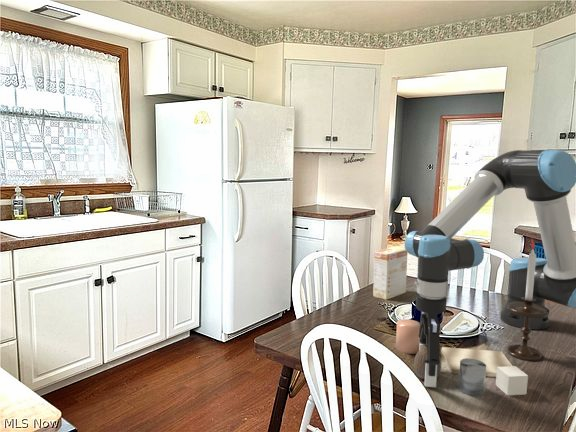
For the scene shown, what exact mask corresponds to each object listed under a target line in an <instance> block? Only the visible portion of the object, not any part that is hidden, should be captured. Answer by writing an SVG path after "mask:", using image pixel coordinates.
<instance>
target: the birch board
mask: <svg viewBox="0 0 576 432" xmlns="http://www.w3.org/2000/svg"><path fill="white" fill-rule="evenodd" d="M441 353H442V354H443V358H444V359H445V361H446V364H447V366H448V368H449V371H450V372H451V374H455V375H459V372H460V361H461V360H462V359H465V358H471V359H476V360H479V361H482V362H483V363H485V364H486V377H490V378H496V375H497V367H505V366H513V365H512V363H511V362H510V360H509V359H508V358H507V357H506V355H505V354H504V353H503V351H501V350H500V351H498V350H486V349H474V348H473V349H472V348H457V347H445V346H444V347H443V346H441Z"/></svg>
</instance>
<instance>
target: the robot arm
mask: <svg viewBox="0 0 576 432" xmlns="http://www.w3.org/2000/svg"><path fill="white" fill-rule="evenodd" d="M575 185H576V161H575V159H574V157H573V156H572V155H571V153H569V152H566V150H565V151H564V150H556V149H551V148H550V149H531V150H530V149H529V150H525V149H524V150H523V149H522V150H521V149H520V150H519V149H518V150H509V151H506V152H504V153H502V154H500V155H498V156H496V157H495V158H494V159H492V160H490V161H489V162H487V163H486V164H485V165H483V166H482V167H481V168H480V169H479V170H478V171H477V172H476V173H475V175H474V180H472V182H470V183H469V184H468V185H467V186H466V187H465V188H464V189H463V190H462V191H461V192H460V193H459V194H458V195H457V196H456V197H455V198H454V199H453V200H451V202H450V203H449V204H448V205H447V206H445V208H443V210H442V211H441V212H440V213H438V214H437V216H436V217H435V218H434V219H432V221H430V222H429V223H428V224H427V226H425V227H424V228H423V229H422V230H421V231H420V230H413V231H409V233H407V235H406V237H405V239H404V248H405V249H406V251H407V254H409V255H411V256H413V257H416V258H417V274H416V275H417V281H414V285H415V286H416V293H417V294H416V296H415V308H416V309H417V310H418V311H420V320H419V321H420V322H419V323H420V329H419V338H420V339H419V341H420V347H419V350H420V349H422V347H423V346H424V344H427V360H424V363H426V367H425V380H424V387H427V388H437V378H438V377H437V365H439V364H440V359H441V357H440V352H441V351H440V350H441V349H440V347H441V346H440V345H441V344H440V339H441V337H440V336H441V335H440V334H441V324H440V318H438V315H439V314H443V313H445V312H446V310H447V297H446V296H447V295H448V288H449V287H448V285H449V272H450V271H455V270H456V271H457V270H464V269H471V268H474V267H477V266H479V265H481V263H482V262H483V260H484V256H485V251H484V247H483V246H482V244H481V243H480V242H479V241H477V240H475V239H467V238H465V239H463V240H462V239H456V238H453V237H455V235H457V234H458V232H459V231H460V230H461V229H462V228H463V227H464V226H465V225H466V224H468V222H469V221H470V220H471V219H472V218H473V217H474V216H475V215H476V214H477V213H478V212H479V211H480V210H481V209H483V207H484V206H485V205H486V204H487V203H488V202H490V200H491V199H492V198H493V197H494V196H499V195H500V194H502V193H503V192H504V191H506V190H509V189H513V188H514V189H523V190H524V193H525V197H526V199H527V200H528V201H529V202H532V203H533V205H534V210H535V215H536V221H537V224H538V229H539V233H540V237H541V238H540V239H541V242H542V247H543V252H544V256H545V258H541V257H536V264H535V275H534V287H533V298H534V299H536V301H533V302H532V303H534V304H538V305H541V306H544V307H546V304H545V302H546V301H548V302H553V303H556V304H559V305H562V306H565V307H567V308H573V309H576V241H575V235H574V229H573V225H572V220H571V219H572V218H571V216H570V210H569V204H568V200H567V196H569V194H570V193H571V191H572V189H573V188H574V187H575ZM528 259H529V257H519V258H514V259H512V260H511V261H510V266H509V270H508V271H509V272H508V273H509V274H508V287H507V298H506V300H505V302H504V304H503V306H502V308H501V310H500V317H499V318H500V319H501V321H503V322H504V323H506V324H507V325H511V326H513V327H516V328H520V329H521V328H522V327H524V318H525V316H521V315H518V314H515V313H512V312H510V311H509V310H508V309H507V304H508V303H510V302H524V301H525V300H523V299H521V298H522V297H525V294H526V283H527V271H528ZM545 300H546V301H545ZM549 321H550V319H549V316H547V317H543V318H533V317H530V320H529V328H530V329H531V330H544V329H547V328H548V327H549Z"/></svg>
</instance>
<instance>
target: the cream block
mask: <svg viewBox="0 0 576 432" xmlns="http://www.w3.org/2000/svg"><path fill="white" fill-rule="evenodd" d="M528 380H529V375H528V374H527V373H525V372H524V371H523V370H521V368H519V367H518V366H516V365H512V366H505V367H497V375H496V377H495V386H497V388H498V389H500V390H501V391H502V392H503V393H504V394H505V395H506V396H520V395H521V396H522V395H527V393H528V392H527V391H528Z"/></svg>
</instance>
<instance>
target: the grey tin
mask: <svg viewBox="0 0 576 432" xmlns="http://www.w3.org/2000/svg"><path fill="white" fill-rule="evenodd" d="M486 377H487V376H486V364H485V363H483V362H482V361H479V360H476V359H471V358H465V359H462V360H461V361H460V372H459V374H458V387H457V388H458V390H459V391H460V392H461V393H462V394H464V395H465V396H469V397H478V398H479V397H482V396H484V395H485V391H486V390H485V388H486Z"/></svg>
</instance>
